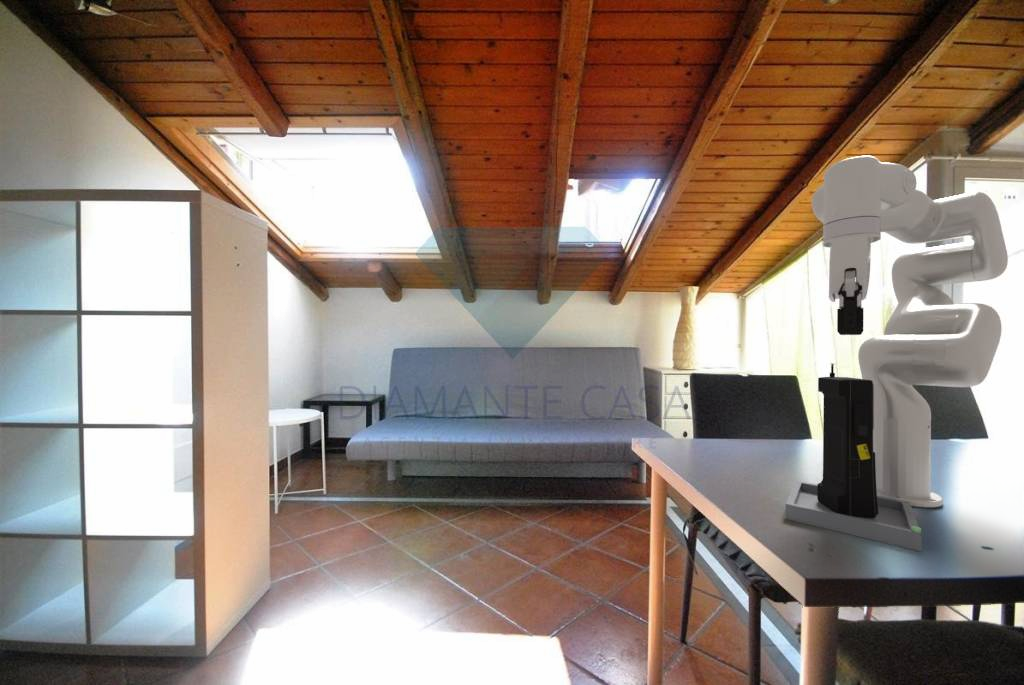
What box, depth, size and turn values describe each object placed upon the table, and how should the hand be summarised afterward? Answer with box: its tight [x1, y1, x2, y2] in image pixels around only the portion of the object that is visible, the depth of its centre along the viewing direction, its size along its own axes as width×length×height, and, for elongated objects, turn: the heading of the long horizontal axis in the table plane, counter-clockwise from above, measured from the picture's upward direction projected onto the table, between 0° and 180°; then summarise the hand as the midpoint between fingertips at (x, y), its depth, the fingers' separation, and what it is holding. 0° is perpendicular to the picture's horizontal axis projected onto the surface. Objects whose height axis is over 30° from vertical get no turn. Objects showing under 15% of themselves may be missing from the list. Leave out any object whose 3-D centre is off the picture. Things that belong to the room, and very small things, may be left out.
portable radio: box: [817, 363, 878, 518], centre depth 69 cm, size 8×6×25 cm
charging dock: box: [785, 480, 922, 552], centre depth 68 cm, size 16×16×3 cm
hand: (850, 333), depth 68 cm, fingers open, 9 cm apart
